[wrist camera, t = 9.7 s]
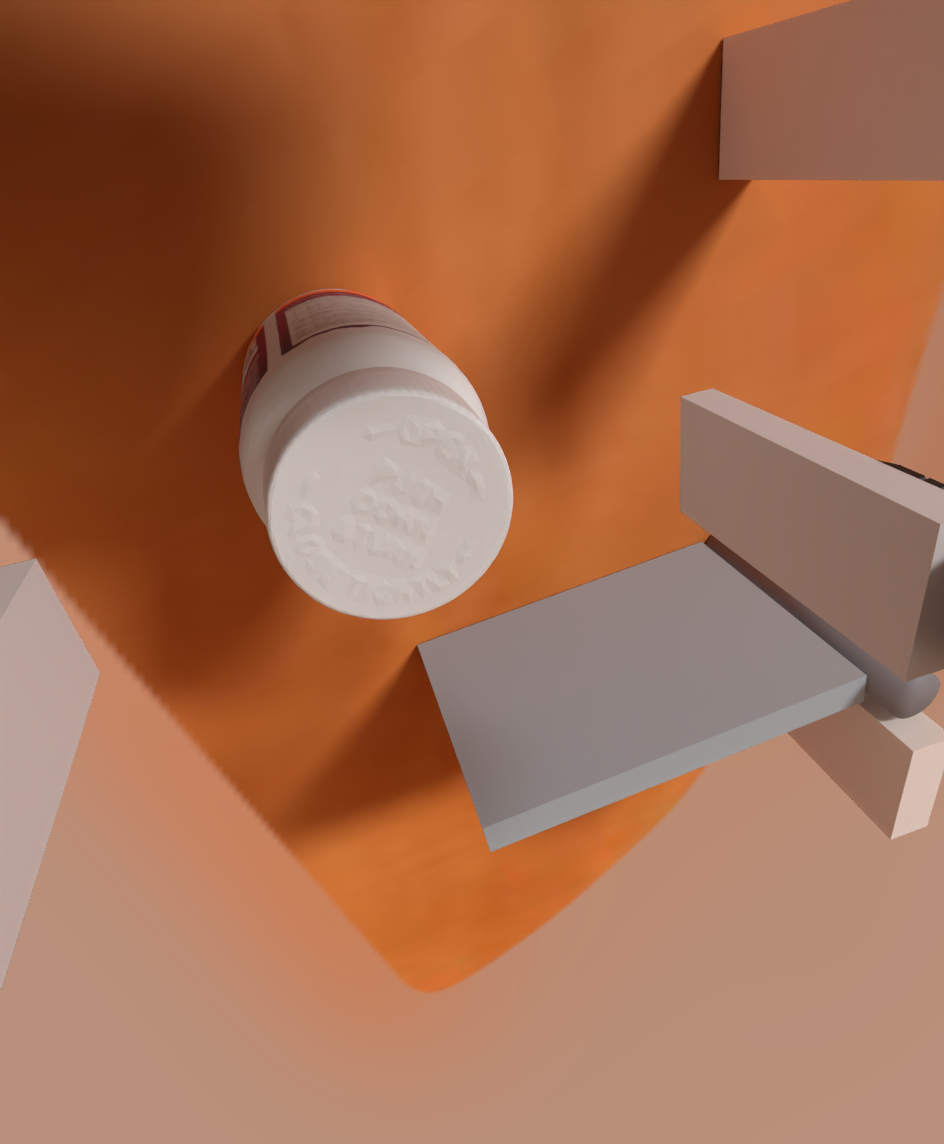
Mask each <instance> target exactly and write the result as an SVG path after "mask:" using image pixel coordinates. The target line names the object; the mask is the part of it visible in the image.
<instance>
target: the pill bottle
mask: <svg viewBox="0 0 944 1144" xmlns="http://www.w3.org/2000/svg"><path fill="white" fill-rule="evenodd" d="M239 460H240V466H241V471H242V476H243V481H244V484H245V487H246V490H247V493H248V496H249V498H250V500H251V502H252V504H253V506H254V508H255V510H256V512H257V514H258V515H259V517H260V518H261V520H262V521H263V523H264V524H265V526H266V527H267V531H268V536H269V539H270V542H271V545H272V548H273V550H274V553H275V555H276V557H277V559H278V561H279V563H280V564H281V566H282V568H283V569H284V571H285V572H286V573H287V574H288V576H289V577H290V578H291V579H292V580H293V582H294V583H295V584H296V585H297V586H298V587H299V588H300V589H302V590H303V591H304V592H305V593H306V594H307V595H309V596H310V597H312V598H313V599H314V600H316V601H318V602H319V603H321V604H323V605H325V606H327V607H328V608H330V609H333V610H335V611H338V612H341V613H344V614H348V615H352V616H356V617H360V618H368V619H385V620H386V619H399V618H406V617H410V616H415V615H418V614H421V613H425V612H428V611H431V610H433V609H435V608H438V607H440V606H442V605H444V604H446V603H448V602H450V601H451V600H453V599H455V598H456V597H458V596H459V595H460V594H462V593H463V592H464V591H466V590H467V589H468V588H469V587H471V586H472V585H473V584H474V583H475V582H476V581H477V580H478V579H479V578H480V577H481V576H482V575H483V574H484V573H485V572H486V570H487V569H488V568H489V566H490V565H491V564H492V562H493V561H494V559H495V558H496V556H497V554H498V553H499V551H500V549H501V546H502V544H503V542H504V540H505V537H506V535H507V532H508V529H509V525H510V521H511V515H512V508H513V488H512V478H511V474H510V470H509V466H508V463H507V460H506V457H505V455H504V453H503V451H502V449H501V447H500V445H499V443H498V441H497V440H496V438H495V437H494V435H493V434H492V433H491V431H490V430H489V426H488V422H487V419H486V415H485V412H484V409H483V406H482V404H481V401H480V399H479V397H478V396H477V394H476V392H475V390H474V388H473V387H472V385H471V384H470V382H469V381H468V379H467V378H466V376H465V375H464V374H463V373H462V372H461V371H460V370H459V369H458V367H457V366H456V365H455V364H454V363H453V362H452V361H451V360H450V359H449V358H448V357H447V356H446V355H444V354H443V353H442V352H440V351H439V350H438V349H437V348H436V347H435V346H434V345H433V344H431V343H430V342H429V341H428V340H427V339H426V338H425V337H424V336H423V335H421V334H420V333H419V332H418V331H417V330H416V329H415V328H414V327H413V326H412V325H411V324H409V323H408V322H407V321H406V320H405V319H404V318H403V317H402V316H401V315H399V314H398V313H397V312H396V311H394V310H393V309H391V308H390V307H389V306H387V305H386V304H384V303H382V302H381V301H379V300H377V299H375V298H373V297H371V296H368V295H366V294H363V293H359V292H355V291H350V290H344V289H322V290H316V291H311V292H307V293H304V294H301V295H299V296H297V297H294V298H292V299H291V300H289V301H287V302H285V303H284V304H282V305H281V306H279V307H278V308H277V309H276V310H274V311H273V312H272V313H271V314H270V315H269V316H268V317H267V318H266V319H265V320H264V321H263V323H262V324H261V325H260V327H259V328H258V330H257V332H256V333H255V335H254V337H253V339H252V341H251V343H250V345H249V348H248V351H247V354H246V358H245V362H244V368H243V375H242V395H241V416H240V435H239Z"/></svg>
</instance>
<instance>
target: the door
mask: <svg viewBox="0 0 944 1144" xmlns="http://www.w3.org/2000/svg"><path fill="white" fill-rule="evenodd" d="M417 646H418V649H419V651H420V654H421V657H422V660H423V663H424V665H425V668H426V671H427V674H428V677H429V680H430V682H431V685H432V688H433V691H434V694H435V696H436V699H437V702H438V705H439V708H440V711H441V713H442V716H443V719H444V722H445V725H446V727H447V730H448V733H449V736H450V739H451V741H452V744H453V747H454V750H455V753H456V756H457V758H458V761H459V764H460V767H461V770H462V772H463V775H464V778H465V781H466V784H467V786H468V789H469V792H470V795H471V798H472V801H473V803H474V806H475V809H476V812H477V815H478V817H479V820H480V823H481V826H482V829H483V831H484V834H485V837H486V840H487V843H488V846H489V848H490V851H491V852H492V851H495V850H497V849H500V848H502V847H504V846H507V845H509V844H512V843H514V842H517V841H519V840H522V839H524V838H527V837H529V836H532V835H534V834H537V833H539V832H542V831H544V830H547V829H549V828H552V827H554V826H557V825H559V824H561V823H564V822H566V821H569V820H571V819H574V818H576V817H579V816H581V815H584V814H586V813H589V812H591V811H594V810H596V809H599V808H601V807H604V806H606V805H609V804H611V803H614V802H616V801H619V800H621V799H623V798H626V797H628V796H631V795H633V794H636V793H638V792H641V791H643V790H646V789H648V788H651V787H653V786H656V785H658V784H661V783H663V782H666V781H668V780H671V779H673V778H676V777H678V776H680V775H683V774H685V773H688V772H690V771H693V770H695V769H698V768H700V767H703V766H705V765H708V764H710V763H713V762H715V761H718V760H720V759H722V758H725V757H727V756H730V755H733V754H735V753H737V752H740V751H742V750H745V749H747V748H750V747H752V746H755V745H757V744H760V743H762V742H765V741H767V740H770V739H772V738H775V737H777V736H780V735H782V734H785V733H787V732H790V731H792V730H794V729H797V728H799V727H802V726H804V725H807V724H809V723H812V722H814V721H817V720H819V719H822V718H824V717H827V716H829V715H832V714H834V713H837V712H839V711H842V710H844V709H847V708H849V707H851V706H854V705H856V704H859V703H861V702H864V697H865V692H866V693H867V694H868V695H869V696H871V697H872V698H873V699H874V700H875V701H877V702H878V703H879V704H880V705H881V706H882V707H884V708H885V709H886V710H887V711H888V712H890V713H891V714H892V715H893V716H894V717H896V718H899V719H905V718H909V717H912V716H914V715H916V714H918V713H920V712H921V711H922V710H924V709H925V708H926V707H927V706H928V705H929V704H930V703H931V702H932V701H933V700H934V698H935V697H936V695H937V693H938V691H939V687H940V681H939V679H938V677H937V676H935V675H934V674H933V673H930V674H927V675H924V676H921V677H919V678H916V679H913V680H910V681H907V682H905V681H903V680H902V679H901V678H899V677H898V676H897V675H895V674H894V673H893V672H891V671H890V670H889V669H887V668H886V667H885V666H883V665H882V664H881V663H880V662H878V661H877V660H876V659H874V658H873V657H872V656H870V655H869V654H868V653H866V652H865V651H864V650H862V649H861V648H860V647H858V646H857V645H856V644H855V643H853V642H852V641H851V640H849V639H848V638H847V637H845V636H844V635H843V634H841V633H840V632H839V631H837V630H836V629H835V628H833V627H832V626H831V625H829V624H828V623H827V622H826V621H824V620H823V619H822V618H820V617H819V616H818V615H816V614H815V613H814V612H812V611H811V610H810V609H808V608H807V607H806V606H804V605H803V604H802V603H801V602H799V601H798V600H797V599H795V598H794V597H793V596H791V595H790V594H789V593H787V592H786V591H785V590H783V589H782V588H781V587H779V586H778V585H777V584H775V583H774V582H773V581H772V580H770V579H769V578H768V577H766V576H765V575H764V574H762V573H761V572H760V571H758V570H757V569H756V568H754V567H753V566H752V565H750V564H749V563H748V562H747V561H745V560H744V559H743V558H741V557H740V556H739V555H737V554H736V553H735V552H733V551H732V550H731V549H729V548H728V547H727V546H725V545H724V544H723V543H721V542H720V541H719V540H718V539H716V538H715V537H714V536H712V535H711V536H710V537H709V538H708V540H707V542H706V544H704V543H702V542H699V543H696V544H694V545H691V546H688V547H685V548H683V549H680V550H677V551H674V552H672V553H669V554H666V555H663V556H661V557H658V558H655V559H652V560H650V561H647V562H644V563H641V564H639V565H636V566H633V567H630V568H628V569H625V570H622V571H619V572H617V573H614V574H611V575H608V576H606V577H603V578H600V579H597V580H595V581H592V582H589V583H586V584H584V585H581V586H578V587H575V588H573V589H570V590H567V591H564V592H562V593H559V594H556V595H554V596H551V597H548V598H545V599H543V600H540V601H537V602H534V603H532V604H529V605H526V606H523V607H521V608H518V609H515V610H512V611H510V612H507V613H504V614H501V615H499V616H496V617H493V618H490V619H488V620H485V621H482V622H479V623H477V624H474V625H471V626H468V627H466V628H463V629H460V630H457V631H455V632H452V633H449V634H446V635H444V636H441V637H438V638H435V639H433V640H430V641H427V642H424V643H422V644H419V645H417Z"/></svg>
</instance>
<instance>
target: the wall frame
mask: <svg viewBox="0 0 944 1144" xmlns="http://www.w3.org/2000/svg"><path fill="white" fill-rule="evenodd" d="M719 180H903V181H944V0H851V1H848V2H844V3H841V4H838V5H834V6H831V7H827V8H824V9H821V10H817V11H814V12H811V13H807V14H804V15H800V16H797V17H794V18H790V19H787V20H783V21H780V22H777V23H773V24H770V25H767V26H763V27H760V28H756V29H753V30H750V31H746V32H743V33H740V34H736V35H733V36H729V37H726V38H723V64H722V95H721V126H720V157H719ZM787 733H788V734H789V735H790V736H791V737H792V738H793V739H794V740H795V741H796V742H797V743H798V744H799V745H800V746H801V747H802V748H803V749H804V750H805V752H807V753H808V755H809V756H810V757H811V758H812V759H813V760H814V761H815V762H816V763H817V764H818V765H819V766H820V767H821V768H822V769H823V770H824V771H825V772H826V773H827V774H828V775H829V776H830V777H831V778H832V779H833V780H834V782H835V783H836V784H838V786H839V787H840V788H842V790H843V791H844V792H845V793H846V794H847V795H848V796H849V797H850V798H851V799H852V800H853V801H854V802H855V803H856V804H857V805H858V806H859V807H860V808H861V809H862V811H864V813H865V814H866V815H867V816H868V817H869V818H870V819H871V820H872V821H873V822H874V823H875V824H876V825H877V826H878V827H879V828H880V829H881V830H882V831H883V832H884V833H885V834H886V835H887V836H888V837H889V838H890V839H893V838H896V837H899V836H901V835H904V834H907V833H909V832H912V831H915V830H918V829H920V828H923V827H925V826H927V824H928V821H929V818H930V814H931V811H932V807H933V804H934V801H935V797H936V794H937V791H938V787H939V784H940V781H941V777H942V774H943V770H944V730H943V729H942V728H941V727H940V726H939V725H937V724H936V723H935V722H934V721H932V720H931V719H930V718H929V717H927V716H926V715H925V714H923V713H922V712H920V713H918V714H916V715H914V716H912V717H909V718H905V719H899V718H896V717H894V716H893V715H892V714H891V713H890V712H888V711H887V710H886V709H885V708H884V707H882V706H881V705H880V704H879V703H878V702H877V701H875V700H874V699H873V698H872V697H871V696H869V695H868V694H867V693H866V692H865V697H864V702H861V703H859V704H856V705H854V706H851V707H849V708H847V709H844V710H842V711H839V712H837V713H834V714H832V715H829V716H827V717H824V718H822V719H819V720H817V721H814V722H812V723H809V724H807V725H804V726H802V727H799V728H797V729H794V730H792V731H790V732H787Z"/></svg>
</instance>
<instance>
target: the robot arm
mask: <svg viewBox="0 0 944 1144" xmlns="http://www.w3.org/2000/svg"><path fill="white" fill-rule="evenodd" d="M680 511H681V512H682V513H683V514H685V515H686V516H687V517H689V518H690V519H691V520H693V521H694V522H695V523H696V524H698V525H699V526H700V527H702V528H703V529H704V530H706V531H707V532H708V533H710V534H711V535H712V536H714V537H715V538H716V539H718V540H719V541H720V542H721V543H723V544H724V545H725V546H727V547H728V548H729V549H731V550H732V551H733V552H735V553H736V554H737V555H739V556H740V557H741V558H743V559H744V560H745V561H747V562H748V563H749V564H750V565H752V566H753V567H754V568H756V569H757V570H758V571H760V572H761V573H762V574H764V575H765V576H766V577H768V578H769V579H770V580H772V581H773V582H774V583H775V584H777V585H778V586H779V587H781V588H782V589H783V590H785V591H786V592H787V593H789V594H790V595H791V596H793V597H794V598H795V599H797V600H798V601H799V602H801V603H802V604H803V605H804V606H806V607H807V608H808V609H810V610H811V611H812V612H814V613H815V614H816V615H818V616H819V617H820V618H822V619H823V620H824V621H826V622H827V623H828V624H829V625H831V626H832V627H833V628H835V629H836V630H837V631H839V632H840V633H841V634H843V635H844V636H845V637H847V638H848V639H849V640H851V641H852V642H853V643H855V644H856V645H857V646H858V647H860V648H861V649H862V650H864V651H865V652H866V653H868V654H869V655H870V656H872V657H873V658H874V659H876V660H877V661H878V662H880V663H881V664H882V665H883V666H885V667H886V668H887V669H889V670H890V671H891V672H893V673H894V674H895V675H897V676H898V677H899V678H901V679H902V680H903V681H905V682H907V681H910V680H913V679H916V678H919V677H921V676H924V675H927V674H930V673H933V672H936V671H939V670H942V669H944V484H942V483H940V482H938V481H935V480H933V479H931V478H929V479H926V478H925V476H924V475H922V474H919V473H917V472H914V471H912V470H910V469H907V468H905V467H903V466H901V465H897V464H893V463H888V462H883V461H879V460H875V459H872V458H870V457H868V456H866V455H863V454H861V453H859V452H856V451H854V450H852V449H850V448H847V447H845V446H843V445H841V444H838V443H836V442H834V441H831V440H829V439H827V438H825V437H822V436H820V435H818V434H815V433H813V432H811V431H809V430H806V429H804V428H802V427H800V426H797V425H795V424H793V423H790V422H788V421H786V420H784V419H781V418H779V417H777V416H774V415H772V414H770V413H768V412H765V411H763V410H761V409H759V408H756V407H754V406H752V405H749V404H747V403H745V402H743V401H740V400H738V399H736V398H733V397H731V396H729V395H727V394H724V393H722V392H720V391H718V390H715V389H709V390H705V391H701V392H697V393H693V394H689V395H685V396H681V475H680ZM99 675H100V672H99V670H98V668H97V666H96V665H95V663H94V661H93V659H92V658H91V656H90V654H89V652H88V650H87V649H86V647H85V645H84V643H83V641H82V640H81V638H80V636H79V634H78V632H77V631H76V629H75V627H74V625H73V623H72V622H71V620H70V618H69V616H68V615H67V613H66V611H65V609H64V607H63V606H62V604H61V602H60V600H59V599H58V597H57V595H56V593H55V591H54V589H53V588H52V586H51V584H50V582H49V580H48V579H47V577H46V575H45V573H44V572H43V570H42V568H41V566H40V564H39V563H38V561H37V559H36V558H35V559H31V560H28V561H23V562H20V563H15V564H11V565H8V566H3V567H0V989H1V988H2V986H3V983H4V980H5V976H6V974H7V970H8V967H9V964H10V961H11V958H12V954H13V951H14V948H15V945H16V941H17V938H18V935H19V932H20V929H21V925H22V922H23V919H24V916H25V913H26V909H27V906H28V903H29V900H30V897H31V893H32V890H33V887H34V884H35V880H36V877H37V874H38V871H39V867H40V865H41V861H42V858H43V855H44V852H45V849H46V845H47V842H48V839H49V836H50V833H51V829H52V826H53V823H54V820H55V816H56V813H57V810H58V807H59V804H60V800H61V797H62V794H63V791H64V788H65V784H66V781H67V778H68V775H69V772H70V768H71V765H72V762H73V759H74V755H75V752H76V749H77V745H78V743H79V740H80V736H81V733H82V730H83V726H84V723H85V720H86V717H87V714H88V711H89V707H90V704H91V701H92V698H93V695H94V691H95V688H96V685H97V682H98V678H99Z"/></svg>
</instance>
